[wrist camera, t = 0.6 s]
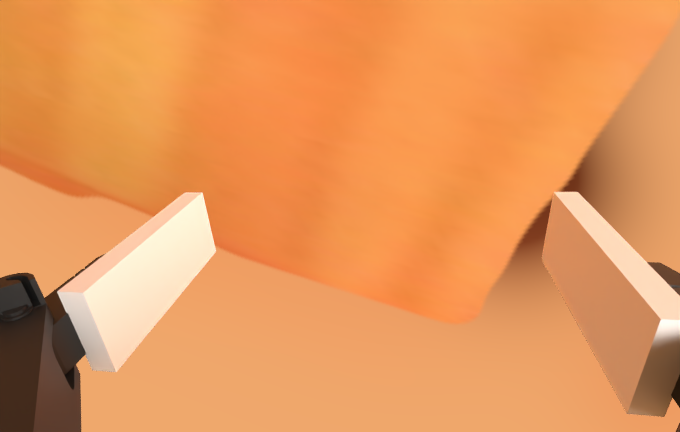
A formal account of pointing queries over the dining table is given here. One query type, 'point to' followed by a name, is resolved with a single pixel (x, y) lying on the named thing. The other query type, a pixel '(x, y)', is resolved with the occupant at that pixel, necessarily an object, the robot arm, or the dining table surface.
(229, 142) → the dining table surface
